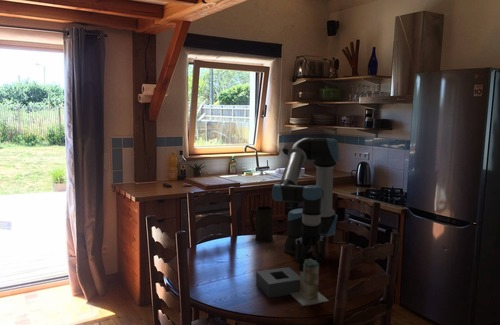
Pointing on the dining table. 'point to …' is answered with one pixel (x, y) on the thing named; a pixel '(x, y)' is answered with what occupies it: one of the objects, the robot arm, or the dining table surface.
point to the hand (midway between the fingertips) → (309, 277)
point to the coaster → (308, 302)
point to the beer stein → (262, 223)
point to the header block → (278, 282)
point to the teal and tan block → (310, 280)
